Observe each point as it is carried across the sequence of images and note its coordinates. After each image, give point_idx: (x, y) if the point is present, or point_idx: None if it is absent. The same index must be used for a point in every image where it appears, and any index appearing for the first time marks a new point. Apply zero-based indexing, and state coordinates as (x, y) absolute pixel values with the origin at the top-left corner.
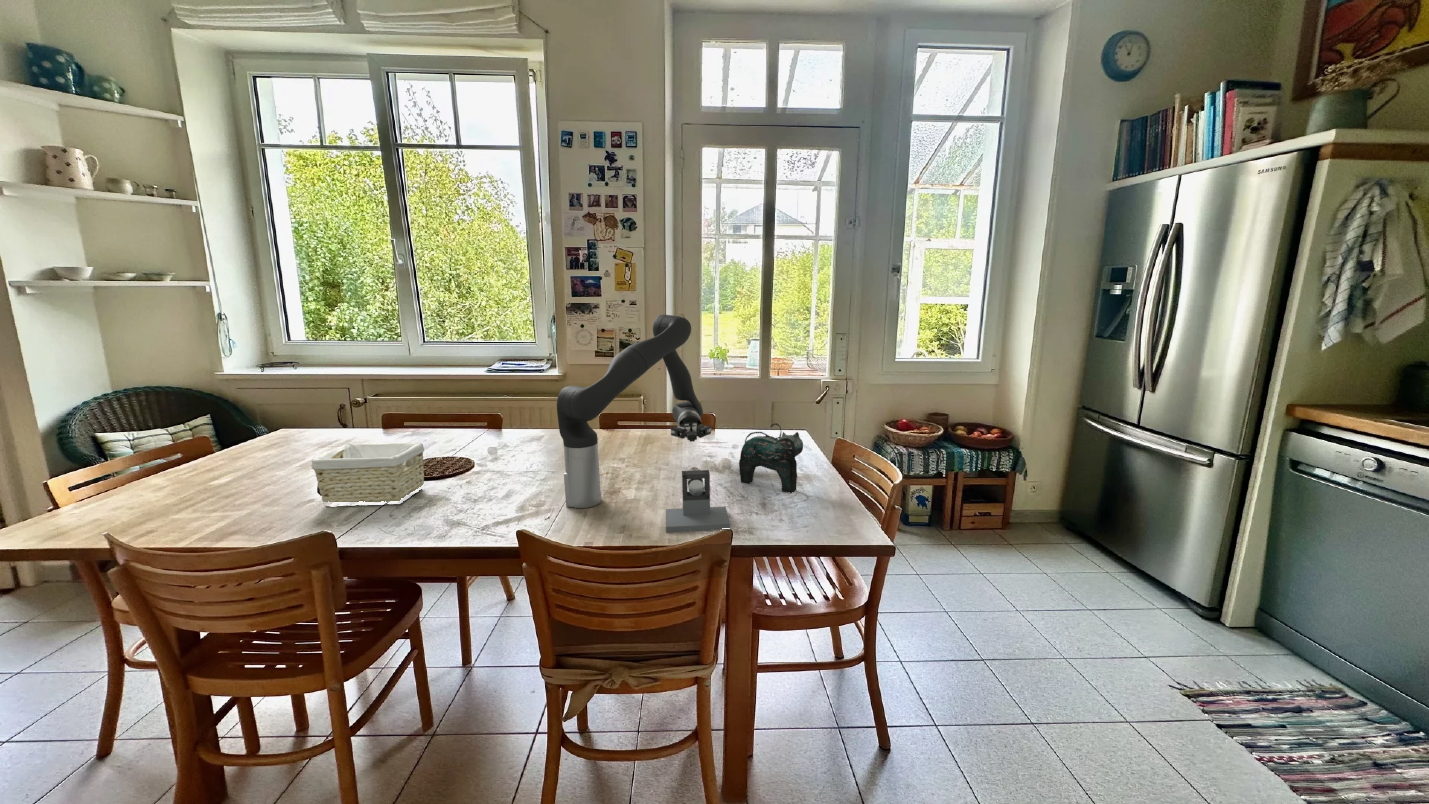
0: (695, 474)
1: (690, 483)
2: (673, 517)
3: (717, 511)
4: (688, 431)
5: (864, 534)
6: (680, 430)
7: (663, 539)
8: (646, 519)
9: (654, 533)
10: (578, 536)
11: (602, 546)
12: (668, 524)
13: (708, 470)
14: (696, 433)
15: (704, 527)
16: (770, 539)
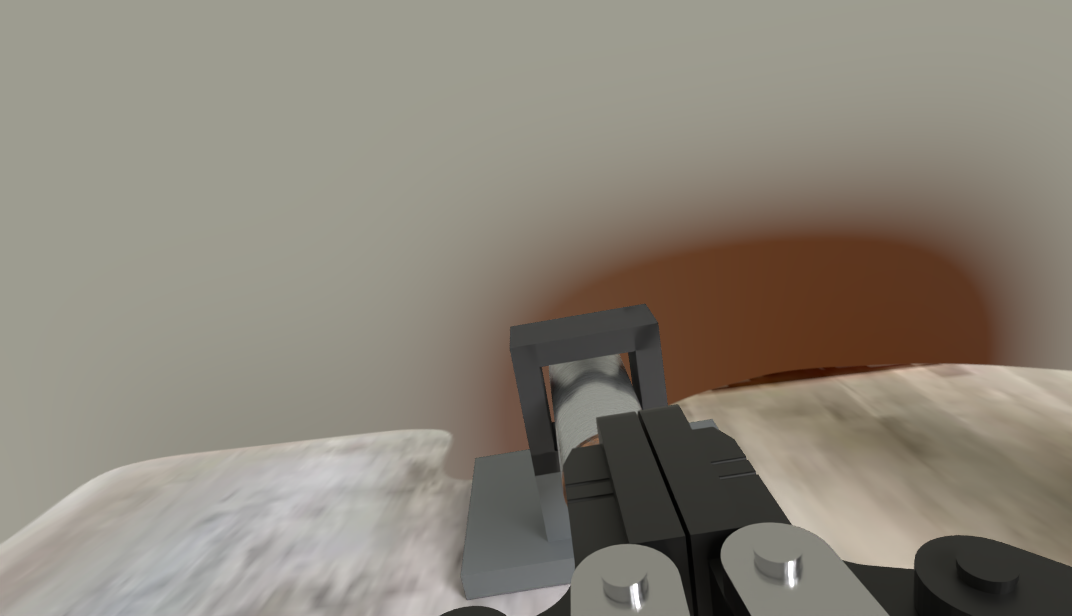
0: (580, 315)
1: None
2: None
3: (509, 528)
4: (765, 530)
5: (85, 497)
6: (1040, 560)
7: (707, 412)
8: (855, 503)
9: (755, 431)
10: (1036, 388)
11: (886, 368)
12: None
13: (512, 344)
14: (571, 517)
15: None
16: (373, 449)
